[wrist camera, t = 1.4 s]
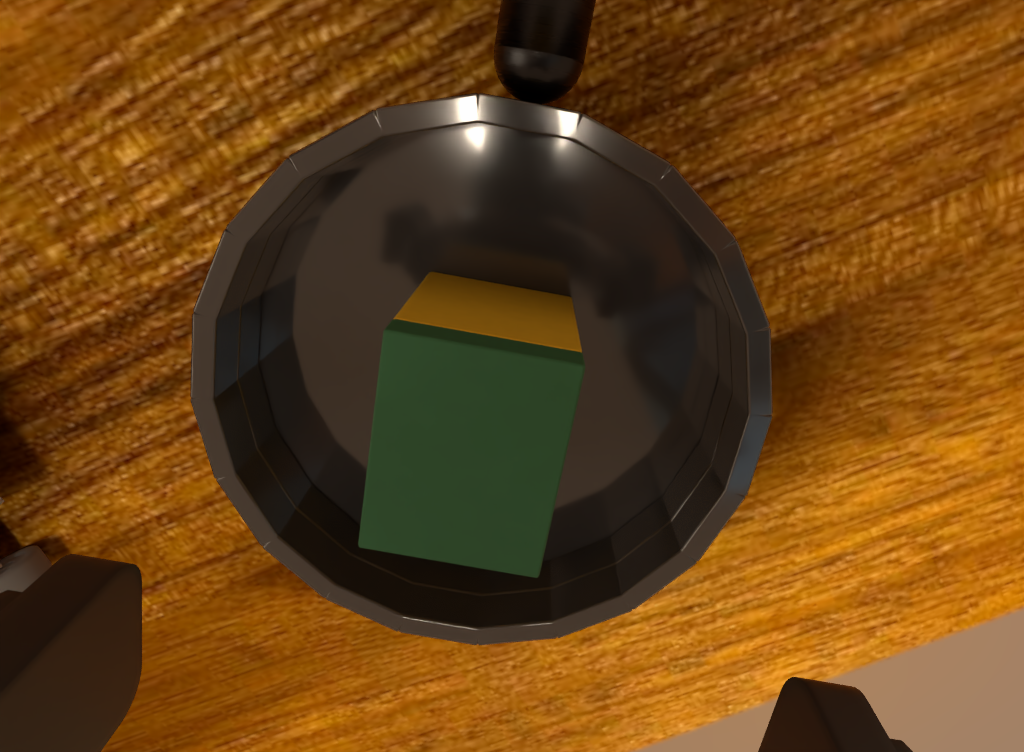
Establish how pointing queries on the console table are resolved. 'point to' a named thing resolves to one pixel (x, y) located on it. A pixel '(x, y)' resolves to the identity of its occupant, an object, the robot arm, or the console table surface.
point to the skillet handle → (541, 46)
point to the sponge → (472, 424)
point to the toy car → (22, 568)
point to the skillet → (503, 260)
